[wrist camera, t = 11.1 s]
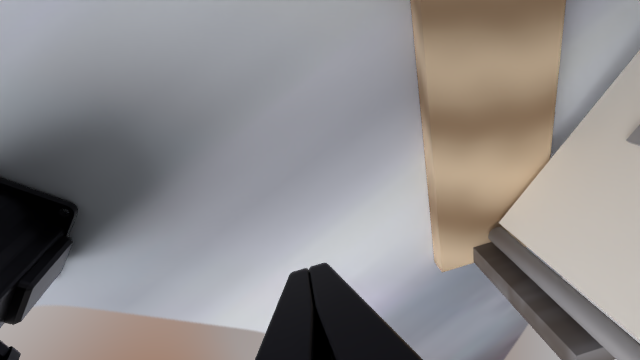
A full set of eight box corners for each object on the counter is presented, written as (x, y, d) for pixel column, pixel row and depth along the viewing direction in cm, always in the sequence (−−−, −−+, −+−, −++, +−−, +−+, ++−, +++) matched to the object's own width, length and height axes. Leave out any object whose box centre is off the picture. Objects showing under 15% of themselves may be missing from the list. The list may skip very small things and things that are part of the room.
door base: (400, -109, 15) (597, -295, 6) (560, -149, 16) (960, -379, 7) (434, 262, 26) (527, 388, 17) (529, 232, 26) (670, 342, 17)
